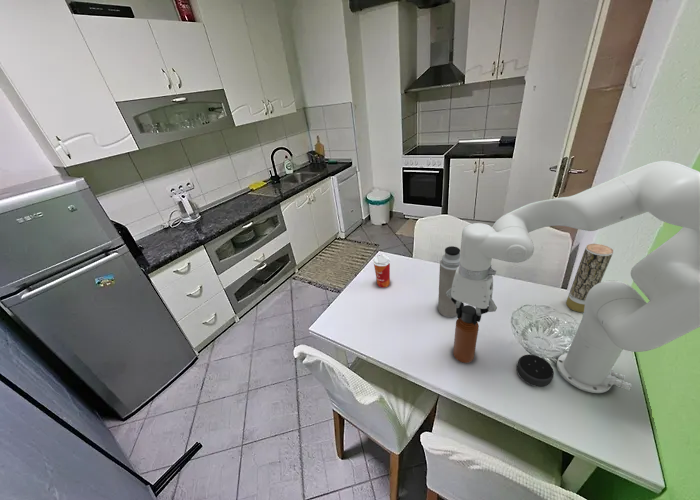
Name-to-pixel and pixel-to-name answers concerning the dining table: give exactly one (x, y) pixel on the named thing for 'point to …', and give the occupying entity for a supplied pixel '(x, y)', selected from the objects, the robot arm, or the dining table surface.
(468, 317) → the cap
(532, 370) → the smart speaker
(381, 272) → the paper cup
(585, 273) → the paper tube
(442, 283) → the thermos bottle
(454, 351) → the sauce bottle
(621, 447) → the dining table surface
